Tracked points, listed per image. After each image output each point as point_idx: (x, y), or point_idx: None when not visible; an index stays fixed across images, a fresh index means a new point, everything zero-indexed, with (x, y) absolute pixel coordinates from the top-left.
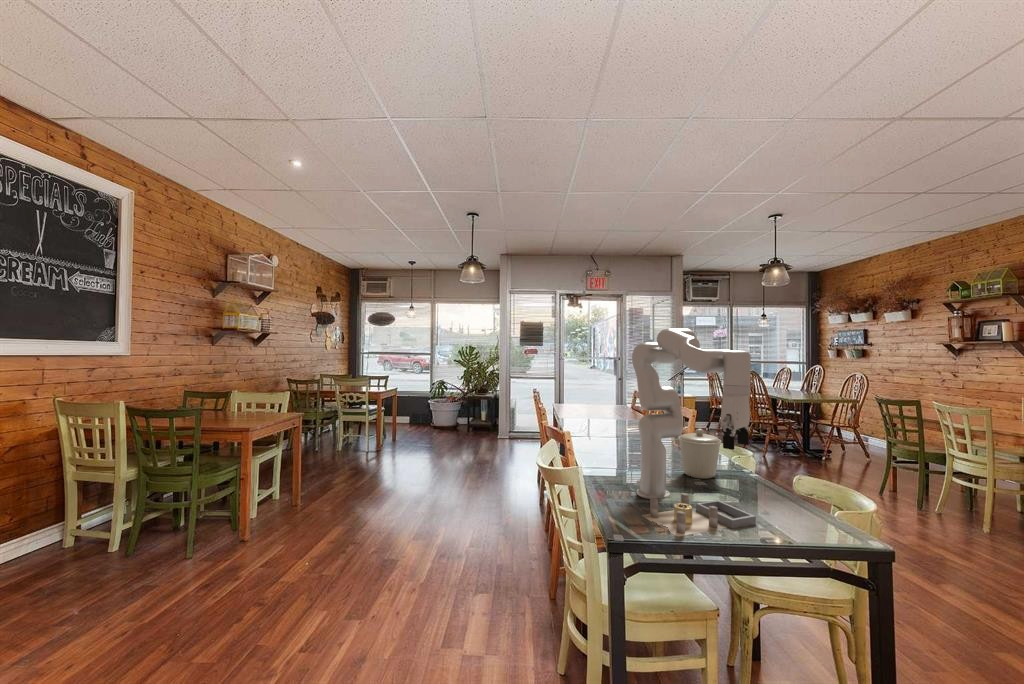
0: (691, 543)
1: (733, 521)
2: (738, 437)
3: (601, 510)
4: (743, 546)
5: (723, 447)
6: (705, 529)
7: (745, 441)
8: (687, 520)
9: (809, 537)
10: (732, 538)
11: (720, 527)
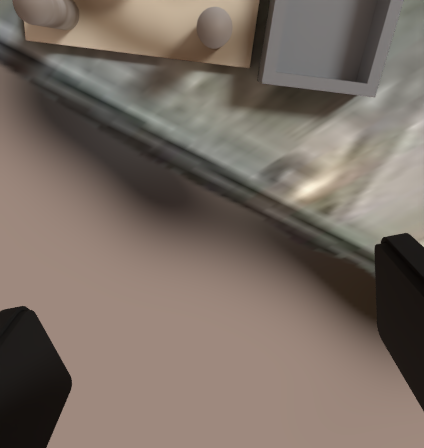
0: (60, 83)
1: (266, 83)
2: (410, 297)
3: None
4: (191, 168)
5: (4, 314)
6: (163, 43)
7: (392, 344)
8: None
9: (407, 214)
10: (209, 118)
11: (226, 56)
